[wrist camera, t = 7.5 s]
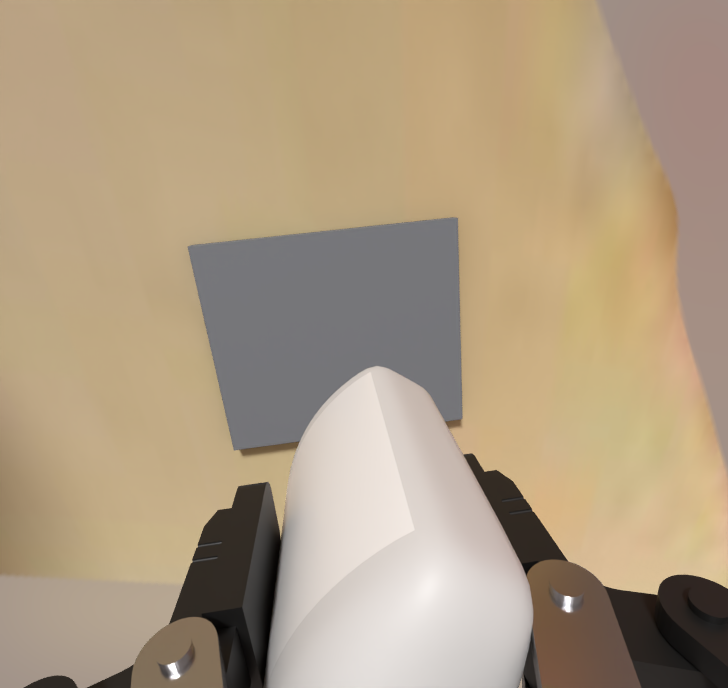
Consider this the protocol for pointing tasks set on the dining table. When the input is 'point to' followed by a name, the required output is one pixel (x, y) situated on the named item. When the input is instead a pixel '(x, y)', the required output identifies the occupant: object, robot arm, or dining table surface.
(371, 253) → the slate mat
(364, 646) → the eye dropper bottle
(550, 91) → the dining table surface
